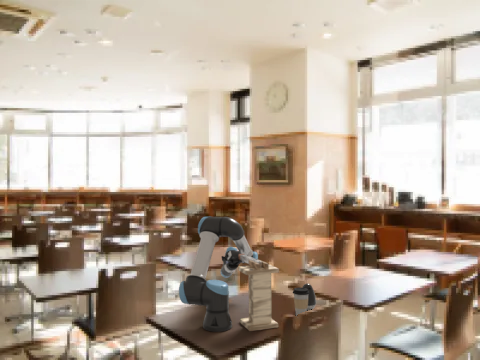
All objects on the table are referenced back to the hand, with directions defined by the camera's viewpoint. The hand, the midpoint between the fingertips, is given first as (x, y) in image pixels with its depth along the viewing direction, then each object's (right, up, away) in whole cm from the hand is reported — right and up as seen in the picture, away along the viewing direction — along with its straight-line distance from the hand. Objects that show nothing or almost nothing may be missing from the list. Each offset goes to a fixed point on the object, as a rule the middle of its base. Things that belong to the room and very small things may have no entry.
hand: (241, 252), depth 241 cm
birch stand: (+9, -33, -27) cm, 44 cm away
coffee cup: (+34, -34, -12) cm, 49 cm away
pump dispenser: (+39, -34, +1) cm, 52 cm away
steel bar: (+5, -3, -14) cm, 15 cm away
